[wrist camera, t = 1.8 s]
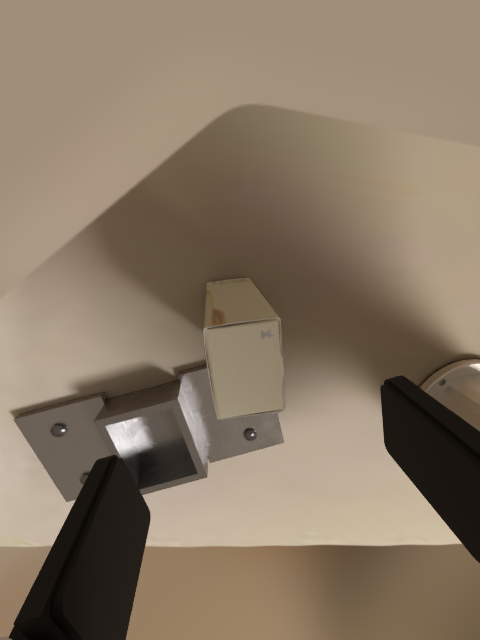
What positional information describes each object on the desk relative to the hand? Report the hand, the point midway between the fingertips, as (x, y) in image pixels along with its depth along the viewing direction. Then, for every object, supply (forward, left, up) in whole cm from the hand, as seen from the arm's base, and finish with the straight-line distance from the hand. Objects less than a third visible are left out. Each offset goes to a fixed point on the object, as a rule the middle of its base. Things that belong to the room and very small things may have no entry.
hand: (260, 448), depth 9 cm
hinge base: (+11, +11, -18) cm, 24 cm away
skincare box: (0, 0, -18) cm, 18 cm away
